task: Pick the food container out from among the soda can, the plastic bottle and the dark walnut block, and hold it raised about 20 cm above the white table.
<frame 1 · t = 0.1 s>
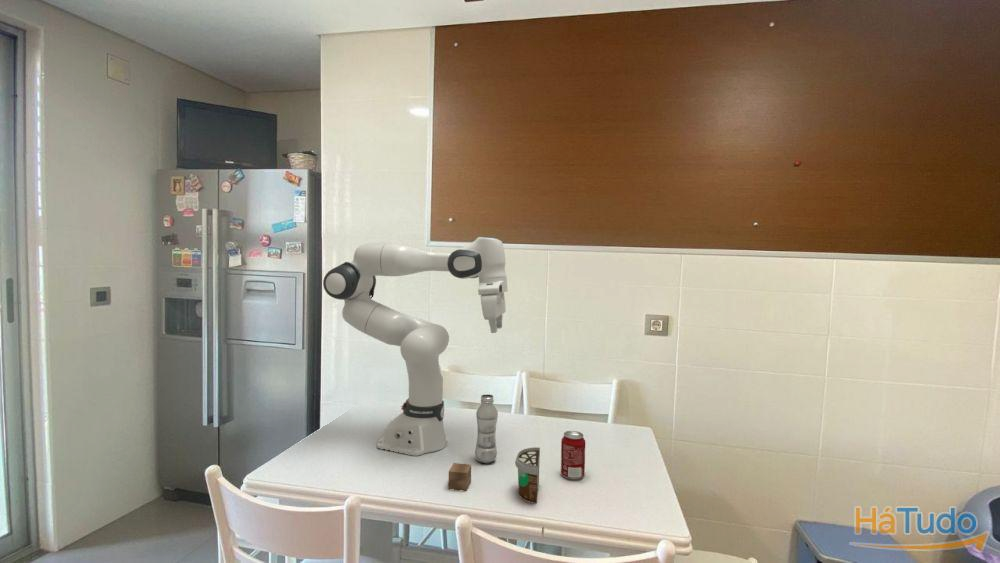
hand: (496, 330, 142), 39 cm above the table, tool pointing down, fingers open, 8 cm apart
plastic bottle: (485, 461, 136), on the table
walnut block: (459, 485, 121), on the table
soda can: (572, 476, 128), on the table
food container: (526, 493, 118), on the table
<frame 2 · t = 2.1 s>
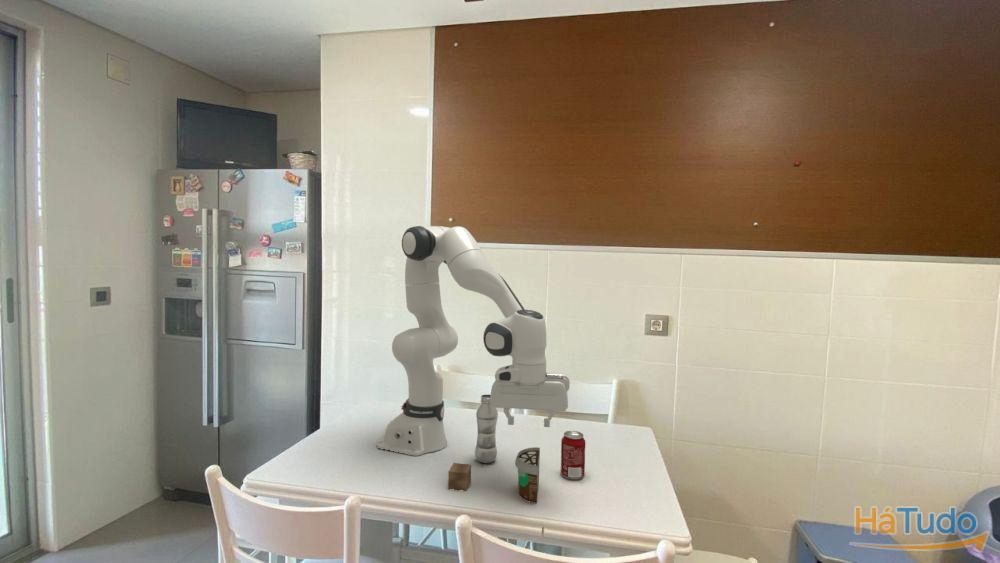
hand: (528, 425, 117), 18 cm above the table, tool pointing down, fingers open, 8 cm apart
nothing on the table moved.
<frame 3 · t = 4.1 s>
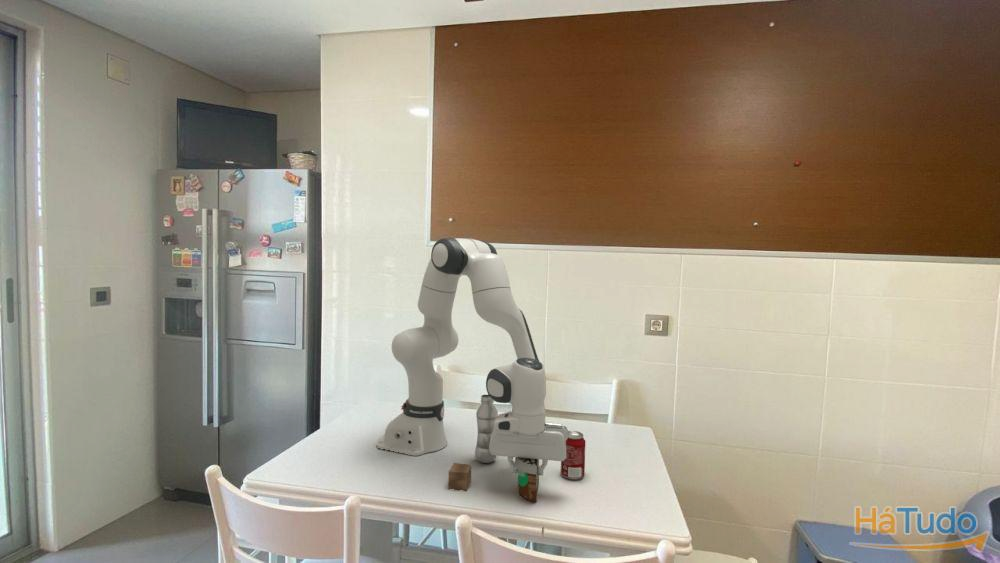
hand: (527, 473, 117), 5 cm above the table, tool pointing down, fingers open, 5 cm apart
food container: (526, 493, 118), on the table, touching gripper
everything else where it was.
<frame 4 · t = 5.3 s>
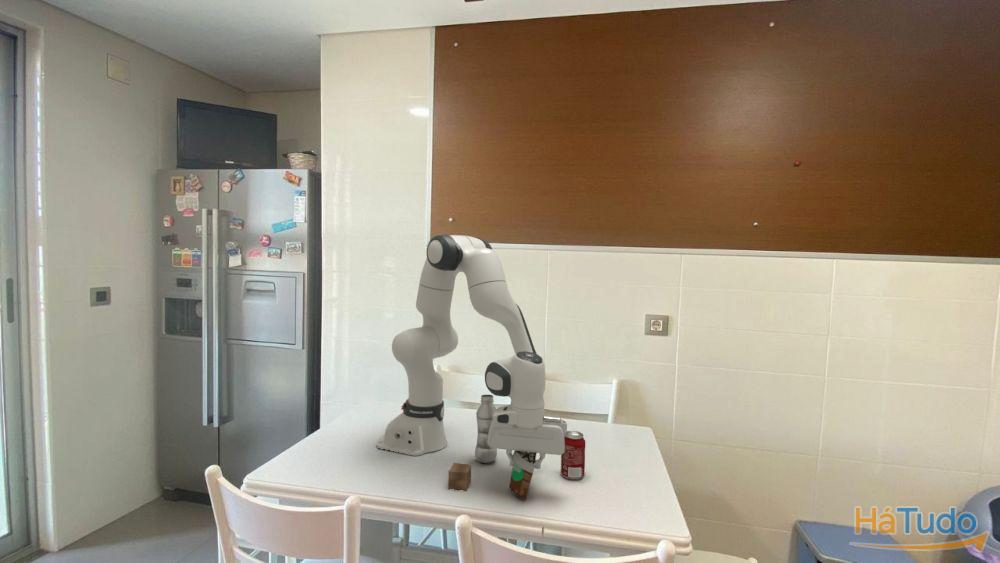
hand: (525, 466, 118), 7 cm above the table, tool pointing down, fingers closed on food container, 5 cm apart
food container: (516, 487, 118), point 1 cm above the table, touching gripper
everything else where it was.
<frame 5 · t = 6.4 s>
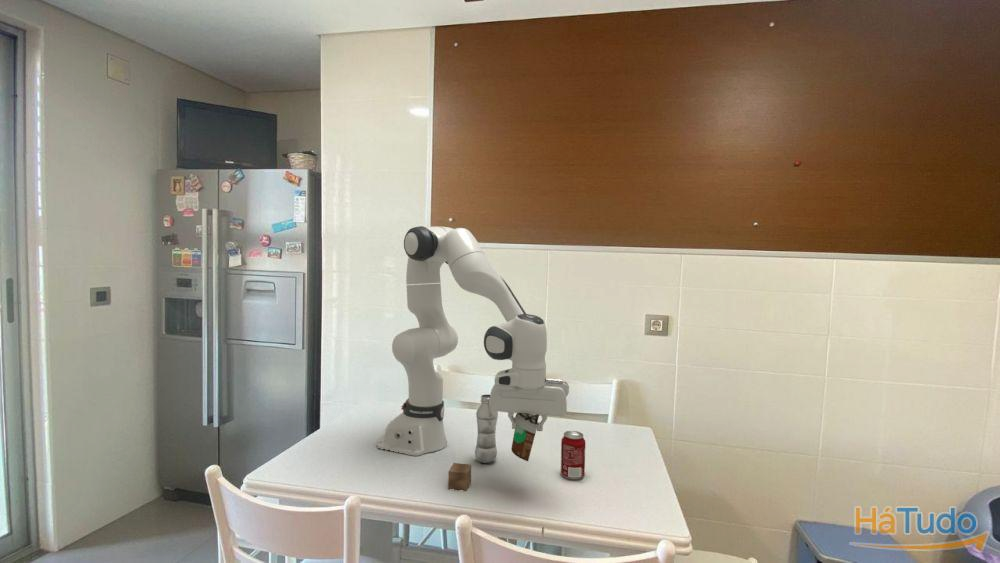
hand: (527, 429, 117), 17 cm above the table, tool pointing down, fingers closed on food container, 5 cm apart
food container: (518, 450, 118), point 11 cm above the table, touching gripper
everything else where it was.
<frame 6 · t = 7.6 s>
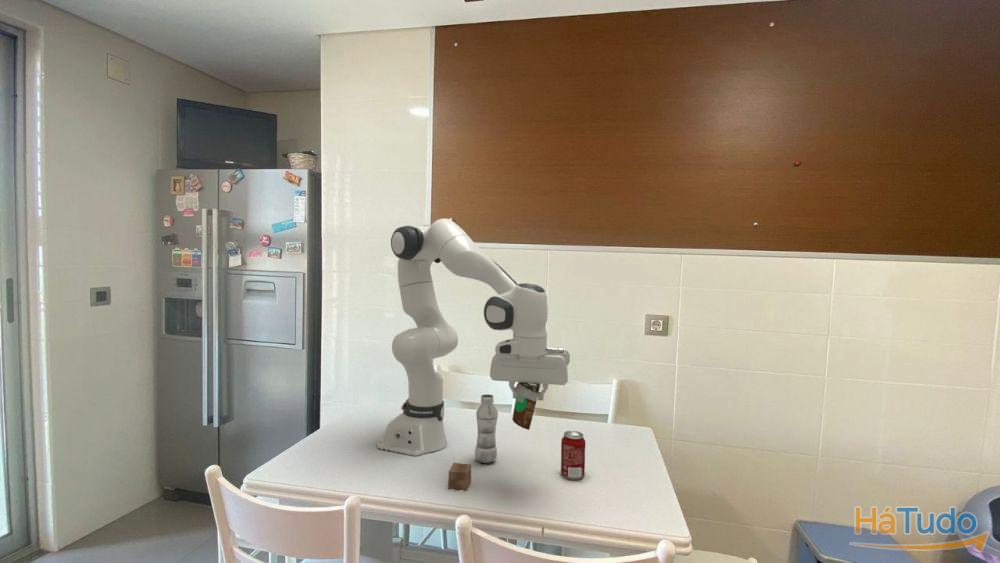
hand: (528, 398, 117), 25 cm above the table, tool pointing down, fingers closed on food container, 5 cm apart
food container: (519, 420, 117), point 19 cm above the table, touching gripper
everything else where it was.
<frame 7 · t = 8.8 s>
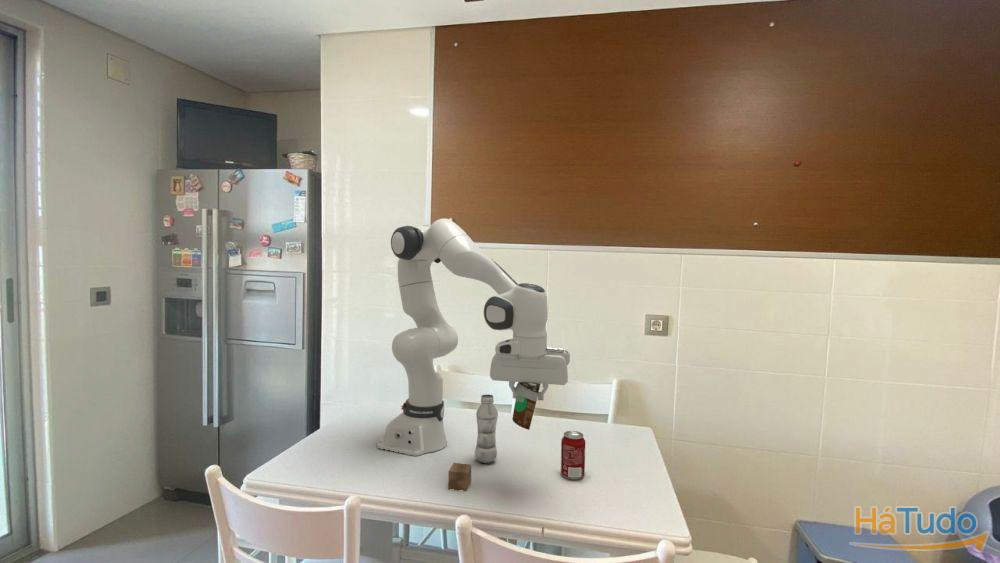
hand: (528, 398, 117), 25 cm above the table, tool pointing down, fingers closed on food container, 5 cm apart
food container: (519, 420, 117), point 19 cm above the table, touching gripper
everything else where it was.
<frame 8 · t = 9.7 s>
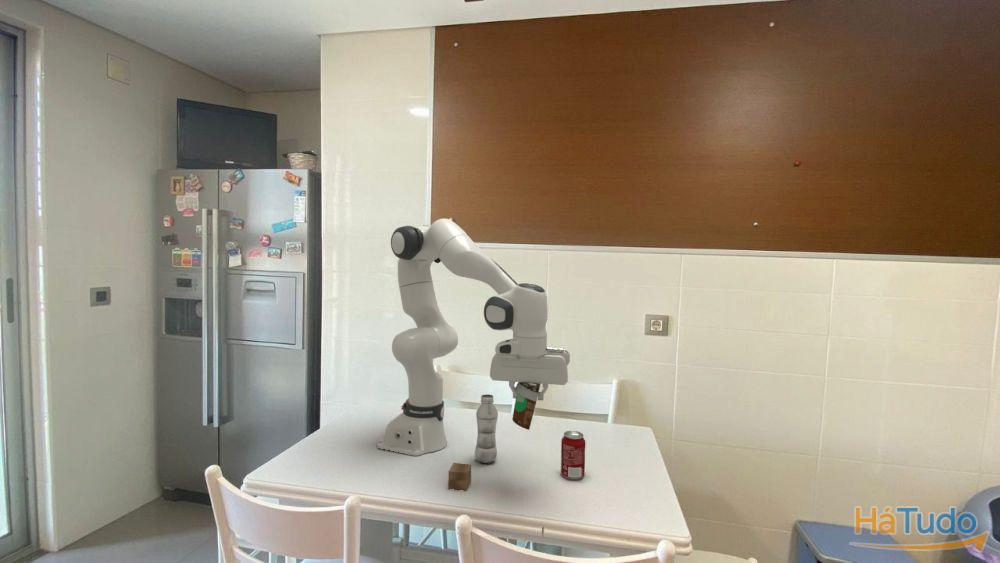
hand: (528, 398, 117), 25 cm above the table, tool pointing down, fingers closed on food container, 5 cm apart
food container: (519, 420, 117), point 19 cm above the table, touching gripper
everything else where it was.
at the end: the gripper is holding food container; food container point 19.0 cm above the table; plastic bottle moved 0.2 cm from its start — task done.
